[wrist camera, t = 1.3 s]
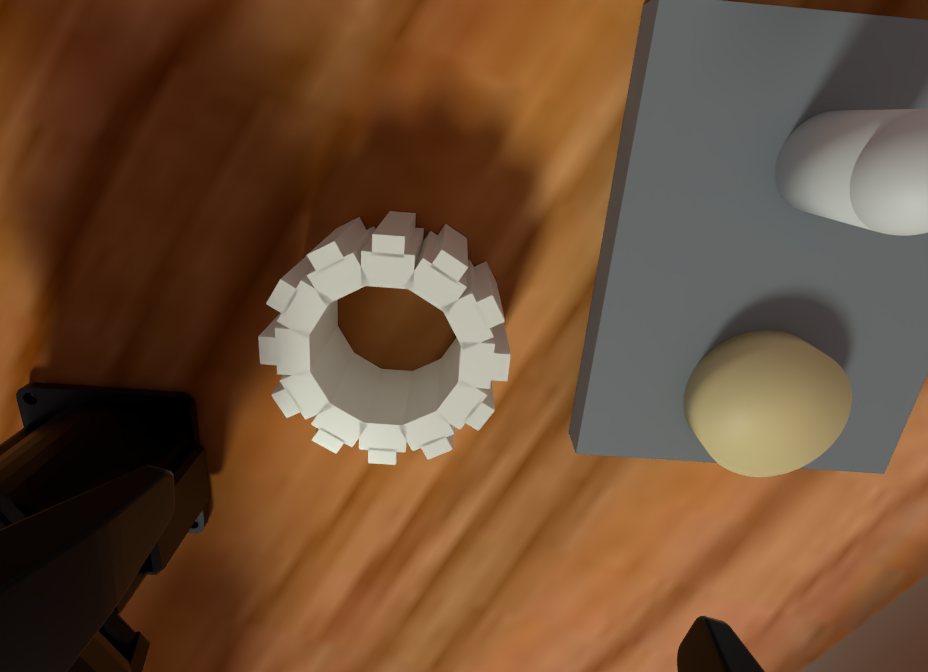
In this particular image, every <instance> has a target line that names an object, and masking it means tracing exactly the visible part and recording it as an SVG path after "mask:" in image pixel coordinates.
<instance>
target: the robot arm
mask: <svg viewBox="0 0 928 672" xmlns="http://www.w3.org/2000/svg"><path fill="white" fill-rule="evenodd" d="M31 394H33V395H34V396H36V398H37V399H35V398H34V397H32V395H31ZM16 395H17V402H18V406H19V410H20V414H21V418H22V422H23V426H24V428H23V429H22V430H20V431H19V432H17V433H16V434H15V435H13V436H12V437H10V438H9V439H8V440H6V441H5V442H3V443H2V444H1V445H0V672H142V670H143V666H144V663H145V659H146V656H147V652H148V649H149V645H150V642H149V641H148V640H147V639H146V638H145V637H144V636H143V635H142V634H141V633H140V632H139V631H138V632H134V630H133V629H132V628H131V627H130V626H129V625H128V624H127V623H126V622H125V621H124V620H123V619H122V618H121V617H120V616H119V614H120V613H121V611H122V610H123V608H124V607H125V605H126V604H127V603H128V601H129V600H130V598H131V597H132V595H133V594H134V592H135V591H136V590H137V588H138V587H139V585H140V584H141V582H142V581H143V579H144V578H145V576H146V575H147V574H152V575H157V574H158V573H159V572H160V571H162V570H163V569H164V568H165V566H166V565H167V563H168V562H169V560H170V559H171V557H172V556H173V554H174V552H175V551H176V549H177V548H178V546H179V545H180V543H181V542H182V540H183V539H184V537H185V536H186V534H187V533H199V532H201V531H202V530H203V529H204V527H205V526H206V524H207V522H208V509H207V502H208V501H209V499H210V490H209V481H208V472H207V463H206V454H205V449H204V447H203V446H202V444H200V440H199V431H198V423H197V414H196V405H195V402H194V400H193V398H192V397H191V396H189V395H188V394H186V393H182V392H170V391H155V390H141V389H126V388H111V387H96V386H82V385H67V384H52V383H37V382H34V383H29V384H27V385H26V386H24V387H22V388H21V389H19V390H18V392H17V394H16ZM176 403H179V404H181V405H182V406H183V407H184V409H180V408H178V407H177V405H176ZM195 521H197V522H195ZM677 667H678V672H765V671H764V670H763V669H762V667H761V666H760V665H759V664H758V662H757V661H756V660H755V658H754V657H753V656H752V655H751V653H750V652H749V651H748V649H747V648H746V647H745V645H744V644H743V643H742V642H741V640H740V639H739V638H738V636H737V635H736V634H735V632H734V631H733V630H732V629H731V627H730V626H729V625H728V624H727V623H725V622H723V621H721V620H717V619H714V618H710V617H706V616H700V617H698V618H697V619H696V620H695V622H694V623H693V625H692V626H691V628H690V630H689V631H688V633H687V634H686V636H685V638H684V639H683V641H682V642H681V644H680V646H679V649H678V654H677Z"/></svg>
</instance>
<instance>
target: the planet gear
mask: <svg viewBox="0 0 928 672" xmlns="http://www.w3.org/2000/svg"><path fill="white" fill-rule="evenodd" d="M415 225H416V213H408V212H396V211H389V213H388V214H387V215H386V217H385V218H384V219H383V221H382V222H381V223H380V225H379V226H378V227H377V228H376V229H375V227H374V226H373V227H371V228H369V229H367V230H366V228H365V226H364V224H363V222H362V220H361V219H360V217H358V218H356V219H354V220H352V221H350V222H348V223H346V224H344V225H342V226H340V227H338V228H336V229H335V230H334V231H333V232H332V233H331V234H330V235H328V236H327V237H326V238H325V239H324V240H323V241H322V242H321V243H319V244H318V245H317V246H316V247H315V248H314V249H313V250H311V251H310V252H309V253H308V254H307V256H306V257H305V258H303V259H302V260H301V261H300V262H299V263H298V264H297V265H296V266H294V267H293V268H292V269H291V270H290V271H289V272H288V273H287V274H285V275H284V276H283V277H282V278H281V279H280V280H279V282H278V284H277V286H276V287H275V289H274V291H273V292H272V294H271V296H270V298H269V299H268V301H267V303H266V304H267V305H268V306H270V307H272V308H273V309H275V310H277V311H279V312H280V314H279V315H278V316H277V317H276V318H275V319H274V320H273V321H272V322H271V323H270V324H269V325H268V326H267V328H266V329H265V330H264V331H263V332H262V333H261V334H260V335H259V336H258V340H259V356H260V364H266V365H277V374H282V375H283V377H282V378H281V380H280V383H279V384H278V386H277V387H276V389H275V390H274V392H273V393H272V394H271V396H272V397H273V399H274V400H275V402H276V403H277V405H278V406H279V407H280V409H281V410H282V412H283V413H284V415H285V416H286V418H288V417H290V416H293V415H295V414H297V413H299V412H301V414H302V415H303V417H304V418H305V420H306V419H308V418H310V417H312V416H315V417H314V419H313V421H312V423H311V425H313V426H314V427H316V428H317V430H316V432H315V434H314V436H313V438H312V441H314V442H316V443H317V444H319V445H321V446H323V447H325V448H327V449H328V450H330V451H332V452H334V453H337V452H338V451H339V449H340V448H341V446H342V445H343V443H345V444H347V445H349V446H350V447H353V445H354V444H355V443H356V441H357V440H358V438H359V449H361V450H368V463H375V464H391V465H396V461H397V456H398V452H406V447H407V443H408V444H409V446H410V448H411V449H412V451H415V450H417V449H419V448H421V449H422V450H423V452H424V454H425V456H426V457H427V459H431V458H433V457H436V456H438V455H441V454H443V453H446V452H448V451H450V450H453V434H455V427H456V428H458V429H459V430H460V429H461V428H462V427H463V426H464V424H465V423H466V424H468V425H469V426H471V427H473V428H475V429H476V430H478V431H479V429H480V428H481V427H482V426H483V424H484V423H485V422H486V421H487V420H488V418H489V417H490V416H491V415H492V413H493V412H494V411H495V407H494V398H493V389H492V381H491V380H496V381H507V380H508V372H509V363H510V355H511V354H510V349H509V344H508V340H507V335H506V330H505V325H504V322H505V319H504V314H503V309H502V305H501V300H500V295H499V291H498V286H497V282H496V280H495V278H494V276H493V274H492V272H491V270H490V267H489V265H488V263H487V261H486V262H483V263H481V264H479V265H477V266H475V267H474V266H473V264H472V262H471V260H468V250H467V238H466V237H464V236H463V235H462V234H460V233H459V232H457V231H456V230H454V229H453V228H451V227H450V226H448V225H447V224H445V225H444V227H443V228H442V230H441V231H440V233H439V234H438V235H436V234H435V233H433V232H432V231H430V232H429V233H428V235H427V236H426V238H425V239H424V241H423V238H424V228H415ZM365 286H373V287H386V288H400V289H409V290H410V291H412V292H413V293H415V294H417V295H418V296H420V297H421V298H423V299H424V300H426V301H427V302H429V303H431V304H432V305H434V306H435V307H437V308H438V309H440V310H441V311H443V312H444V314H445V316H446V318H447V320H448V322H449V324H450V326H451V328H452V330H453V331H454V333H455V335H456V339H455V340H454V341H453V343H452V344H451V345H450V347H449V348H448V350H447V351H446V352H445V354H444V355H443V356H442V358H441V359H439V360H436V361H434V362H432V363H430V364H427V365H425V366H423V367H421V368H418V369H416V370H414V371H406V370H392V369H381V368H379V367H377V366H376V365H374V364H372V363H371V362H369V361H367V360H366V359H364V358H362V357H361V356H359V355H357V354H356V353H354V352H353V350H352V348H351V347H350V345H349V343H348V342H347V340H346V338H345V337H344V335H343V333H342V332H341V330H340V328H339V327H338V299H339V298H342V297H344V296H346V295H348V294H350V293H352V292H354V291H356V290H358V289H361V288H363V287H365Z"/></svg>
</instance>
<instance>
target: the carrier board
mask: <svg viewBox="0 0 928 672" xmlns="http://www.w3.org/2000/svg"><path fill="white" fill-rule="evenodd" d="M927 375H928V20H923V19H913V18H902V17H892V16H881V15H871V14H860V13H849V12H839V11H828V10H818V9H807V8H797V7H786V6H775V5H765V4H754V3H744V2H733V1H723V0H651V1H649V2H647V3H646V4H644V5H643V10H642V16H641V21H640V27H639V33H638V38H637V44H636V50H635V56H634V61H633V67H632V73H631V79H630V84H629V90H628V96H627V101H626V107H625V113H624V119H623V124H622V130H621V136H620V142H619V147H618V153H617V159H616V164H615V170H614V176H613V182H612V187H611V193H610V199H609V205H608V210H607V216H606V222H605V227H604V233H603V239H602V245H601V250H600V256H599V262H598V268H597V273H596V279H595V285H594V290H593V296H592V302H591V308H590V313H589V319H588V325H587V331H586V336H585V342H584V348H583V353H582V359H581V365H580V371H579V376H578V382H577V388H576V394H575V399H574V405H573V411H572V416H571V422H570V428H569V435H570V438H571V440H572V443H573V446H574V449H575V452H576V454H590V455H605V456H621V457H636V458H651V459H667V460H682V461H697V462H712V463H718V464H720V465H721V466H722V467H724V468H726V469H728V470H729V471H732V472H734V473H737V474H741V475H745V476H752V477H769V476H776V475H781V474H785V473H788V472H791V471H794V470H796V469H799V468H804V469H819V470H834V471H850V472H865V473H880V474H884V473H885V471H886V468H887V466H888V464H889V462H890V459H891V457H892V455H893V452H894V450H895V448H896V446H897V443H898V441H899V439H900V436H901V434H902V432H903V429H904V427H905V425H906V423H907V420H908V418H909V416H910V413H911V411H912V409H913V407H914V404H915V402H916V400H917V397H918V395H919V393H920V391H921V388H922V386H923V384H924V381H925V379H926V377H927Z"/></svg>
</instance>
